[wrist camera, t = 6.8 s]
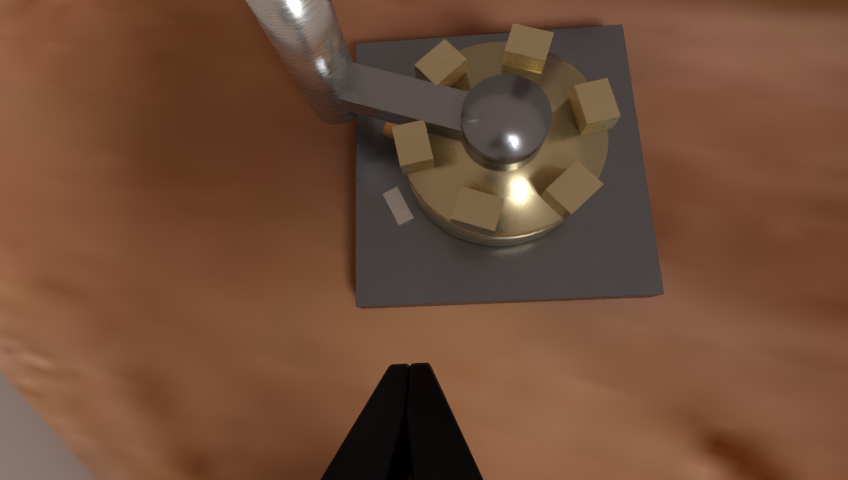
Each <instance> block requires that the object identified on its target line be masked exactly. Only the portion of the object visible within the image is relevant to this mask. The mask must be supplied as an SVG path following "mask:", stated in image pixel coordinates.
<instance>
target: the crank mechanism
mask: <svg viewBox="0 0 848 480" xmlns="http://www.w3.org/2000/svg"><path fill="white" fill-rule="evenodd" d="M245 1H246V2H247V4H248V5H249V7H250V9H251V10H252V12H253V14H254V15H255V17H256V19H257V20H258V22H259V24H260V25H261V27H262V29H263V30H264V32H265V33H266V35H267V37H268V38H269V40H270V42H271V43H272V45H273V47H274V48H275V50H276V52H277V53H278V55H279V56H280V58H281V60H282V61H283V63H284V65H285V66H286V68H287V70H288V71H289V73H290V75H291V76H292V78H293V80H294V81H295V83H296V84H297V86H298V88H299V89H300V91H301V93H302V94H303V96H304V98H305V99H306V101H307V103H308V104H309V106H310V107H311V109H312V111H313V112H314V114H315V115H316V117H317V118H319V119H320V120H321V121H323V122H325V123H328V124H343V123H346V122H348V121H350V120H352V119H353V118H354V117H356V116H357V115H358V114H360V115H364V116H367V117H371V118H375V119H378V120H382V121H386V122H390V123H393V124H397V126H393V127H392V131H393V136H394V140H395V145H396V150H397V154H398V159H399V163H400V168H401V171H402V174H403V175H405V174H406V175H407V179H408V182H409V186H410V188H411V191H412V193H413V195H414V197H415V199H416V201H417V202H418V204H419V205H420V207H421V208H422V209H423V211H424V212H425V213H426V214H427V215H428V217H429V218H430V219H432V220H433V221H434V222H435V223H436V224H437V225H438V226H440V227H441V228H443V229H444V230H445V231H447V232H449V233H451V234H453V235H454V236H456V237H458V238H461V239H464V240H466V241H469V242H473V243H477V244H481V245H490V246H509V245H515V244H521V243H524V242H528V241H531V240H534V239H536V238H539V237H541V236H543V235H545V234H547V233H548V232H550V231H552V230H553V229H555V228H556V227H557V226H559V225H560V224H561V223H562V222H563V221H566V220H567V219H568V218H569V217H570V216H571V215H572V214H573V213H574V212H575V211H576V210H578V209H579V208H580V207H581V206H582V205H583V204H584V203H585V202H586V201H587V200H588V199H589V198H590V197H592V196H593V195H594V194H595V193H596V192H597V191H598V190H599V189H600V188H601V187H602V185H603V183H602V182H601V181H600V180H599V177H600V175H601V173H602V170H603V167H604V164H605V161H606V156H607V150H608V129H609V128H613V126H614V125H615V124H616V122H617V121H618V119H619V118H620V117H621V115H620V112H619V109H618V106H617V104H616V101H615V98H614V95H613V92H612V89H611V86H610V84H609V81H608V78H604V79H600V80H596V81H591V82H588V81H587V80H586V78H585V77H584V76H583V75H582V74H581V73H580V72H579V71H578V70H577V69H576V68H574V67H573V66H572V65H571V64H569V63H568V62H567V61H565V60H564V59H562V58H560V57H558V56H557V55H555V54H553V53H551V52H548V51H549V48H550V45H551V41H552V38H553V34H554V32H549V31H545V30H541V29H536V28H532V27H527V26H523V25H519V24H514V23H513V25H512V29H511V32H510V35H509V38H508V41H507V42H490V43H484V44H479V45H475V46H471V47H468V48H465V49H462V50H460V51H458V50H456V49H455V48H454V47H453V46H452V45H451V44H450V43H449V42H448V41H447V40H446V39H444V40H443V41H442V42H441V43H439V44H438V45H437V46H436V47H435V48H433V49H432V50H431V51H430V52H429V53H427V54H426V55H425V56H424V57H423V58H422V59H420V60H419V61H418V62H417V63H416V64H414V67H415V74H416V78H417V79H416V78H412V77H408V76H404V75H400V74H396V73H392V72H388V71H384V70H380V69H376V68H372V67H368V66H364V65H360V64H356V63H353V61H352V58H351V55H350V53H349V50H348V47H347V44H346V42H345V39H344V36H343V33H342V30H341V28H340V25H339V22H338V19H337V16H336V14H335V11H334V8H333V5H332V2H331V0H245Z"/></svg>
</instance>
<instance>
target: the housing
mask: <svg viewBox="0 0 848 480" xmlns="http://www.w3.org/2000/svg"><path fill="white" fill-rule="evenodd" d="M545 31H549V32H554V34H553V38H552V41H551V45H550V48H549V51H548V52H551V53H553V54H555V55H557V56H558V57H560V58H562V59H564V60H565V61H567V62H568V63H569V64H571V65H572V66H573V67H574V68H576V69H577V70H578V71H579V72H580V73H581V74H582V75H583V76H584V77H585V78H586V80H587V81H588V82H591V81H596V80H600V79H604V78H608V81H609V84H610V86H611V89H612V92H613V95H614V98H615V101H616V104H617V106H618V109H619V112H620V115H621V117H620V118H619V119H618V121H617V122H616V124H615V125H614V126H613V128H609V129H608V150H607V156H606V161H605V164H604V167H603V170H602V173H601V175H600V177H599V180H600V181H601V182H602V183H603V185H602V187H601V188H600V189H599V190H598V191H597V192H596V193H595V194H594V195H593V196H592V197H590V198H589V199H588V200H587V201H586V202H585V203H584V204H583V205H582V206H581V207H580V208H579V209H578V210H576V211H575V212H574V213H573V214H572V215H571V216H570V217H569V218H568V219H567V220H566V221H563V222H562V223H561V224H560V225H559V226H557V227H556V228H555V229H553V230H552V231H550V232H548V233H547V234H545V235H543V236H541V237H539V238H536V239H534V240H531V241H528V242H524V243H521V244H515V245H509V246H490V245H481V244H477V243H473V242H469V241H466V240H464V239H461V238H458V237H456V236H454V235H453V234H451V233H449V232H447V231H445V230H444V229H443V228H441V227H440V226H438V225H437V224H436V223H435V222H434V221H433V220H432V219H430V218H429V217H428V215H427V214H426V213H425V212H424V211H423V209H422V208H421V207H420V205H419V204H418V202H417V201H416V199H415V197H414V195H413V193H412V191H411V188H410V186H409V182H408V179H407V175H406V174H405V175H403V174H402V171H401V168H400V163H399V159H398V154H397V150H396V145H395V140H394V136H393V131H392V127H393V126H397V124H393V123H390V122H386V121H382V120H378V119H375V118H371V117H367V116H364V115H360V114H358V115H357V116H356V307H359V308H362V309H364V308H389V307H415V306H440V305H466V304H491V303H517V302H542V301H568V300H593V299H619V298H644V297H653V296H657V295H662V294H664V291H663V285H662V278H661V272H660V265H659V259H658V252H657V246H656V239H655V233H654V227H653V220H652V214H651V207H650V201H649V194H648V188H647V181H646V175H645V168H644V162H643V155H642V149H641V142H640V136H639V130H638V123H637V117H636V110H635V104H634V97H633V91H632V84H631V78H630V71H629V65H628V58H627V52H626V46H625V39H624V33H623V26H622V24H621V25H607V26H593V27H579V28H566V29H552V30H545ZM509 35H510V33H496V34H482V35H468V36H454V37H441V38H427V39H413V40H399V41H385V42H371V43H357V44H356V64H360V65H364V66H368V67H372V68H376V69H380V70H384V71H388V72H392V73H396V74H400V75H404V76H408V77H412V78H416V74H415V67H414V64H416V63H417V62H418V61H419V60H420V59H422V58H423V57H424V56H425V55H426V54H427V53H429V52H430V51H431V50H432V49H433V48H435V47H436V46H437V45H438V44H439V43H441V42H442V41H443V40H444V39H446V40H447V41H448V42H449V43H450V44H451V45H452V46H453V47H454V48H455V49H456V50H458V51H460V50H462V49H465V48H468V47H471V46H475V45H479V44H484V43H490V42H507V41H508V38H509ZM416 79H417V78H416Z"/></svg>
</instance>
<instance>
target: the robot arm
mask: <svg viewBox="0 0 848 480" xmlns="http://www.w3.org/2000/svg"><path fill="white" fill-rule="evenodd" d="M321 480H483V478H482V476H481V474H480V471H479V469H478V467H477V465H476V463H475V461H474V458H473V456H472V454H471V452H470V450H469V447H468V445H467V443H466V441H465V439H464V437H463V434H462V432H461V430H460V428H459V426H458V424H457V421H456V419H455V417H454V415H453V413H452V411H451V408H450V406H449V404H448V402H447V400H446V398H445V395H444V393H443V391H442V389H441V387H440V385H439V382H438V380H437V378H436V376H435V374H434V372H433V369H432V367H431V365H430V364H429V363H413V364H411V365H410V366H409V365H408V364H393V365H390V366H389V367H388V369H387V370H386V372H385V374H384V375H383V377H382V379H381V380H380V382H379V384H378V385H377V387H376V389H375V390H374V392H373V394H372V395H371V397H370V399H369V400H368V402H367V404H366V405H365V407H364V409H363V410H362V412H361V414H360V415H359V417H358V418H357V420H356V422H355V423H354V425H353V427H352V428H351V430H350V432H349V433H348V435H347V437H346V438H345V440H344V442H343V443H342V445H341V447H340V448H339V450H338V452H337V453H336V455H335V457H334V458H333V460H332V462H331V463H330V465H329V466H328V468H327V470H326V471H325V473H324V475H323V476H322V478H321Z"/></svg>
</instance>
